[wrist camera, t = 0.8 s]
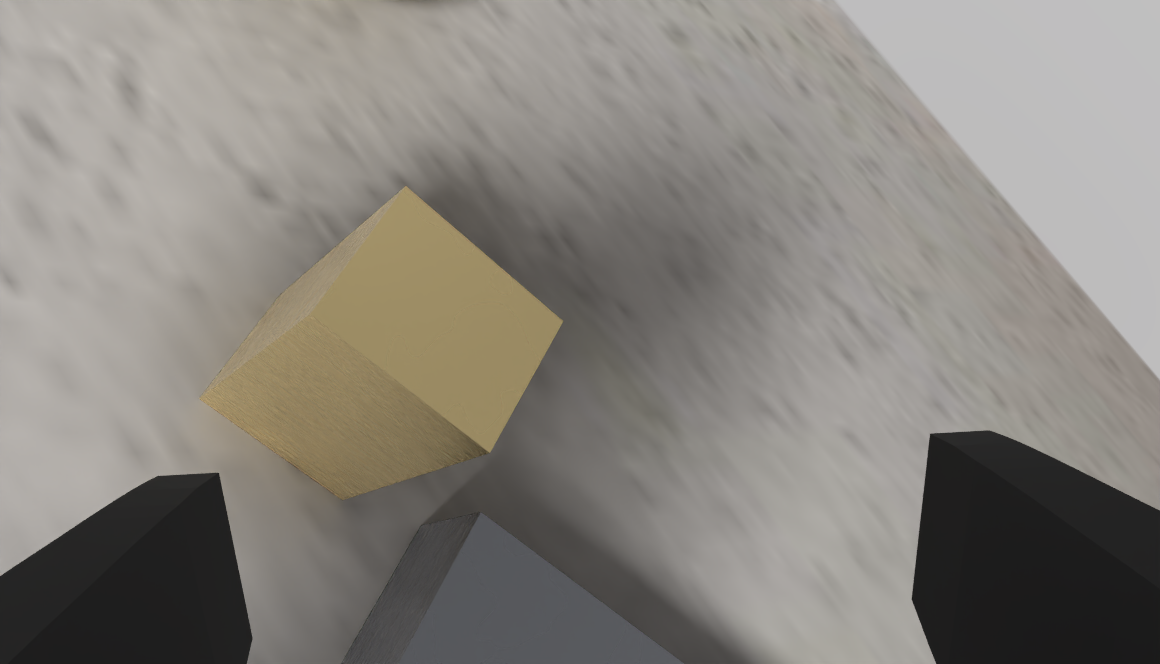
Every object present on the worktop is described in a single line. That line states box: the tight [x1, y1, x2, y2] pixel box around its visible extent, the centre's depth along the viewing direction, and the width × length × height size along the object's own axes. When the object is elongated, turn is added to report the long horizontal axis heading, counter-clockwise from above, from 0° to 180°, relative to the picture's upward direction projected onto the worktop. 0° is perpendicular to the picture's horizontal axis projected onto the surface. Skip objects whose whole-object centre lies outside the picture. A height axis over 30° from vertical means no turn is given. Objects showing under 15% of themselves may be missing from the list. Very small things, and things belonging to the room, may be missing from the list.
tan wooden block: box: [199, 186, 563, 500], centre depth 21 cm, size 3×4×7 cm
